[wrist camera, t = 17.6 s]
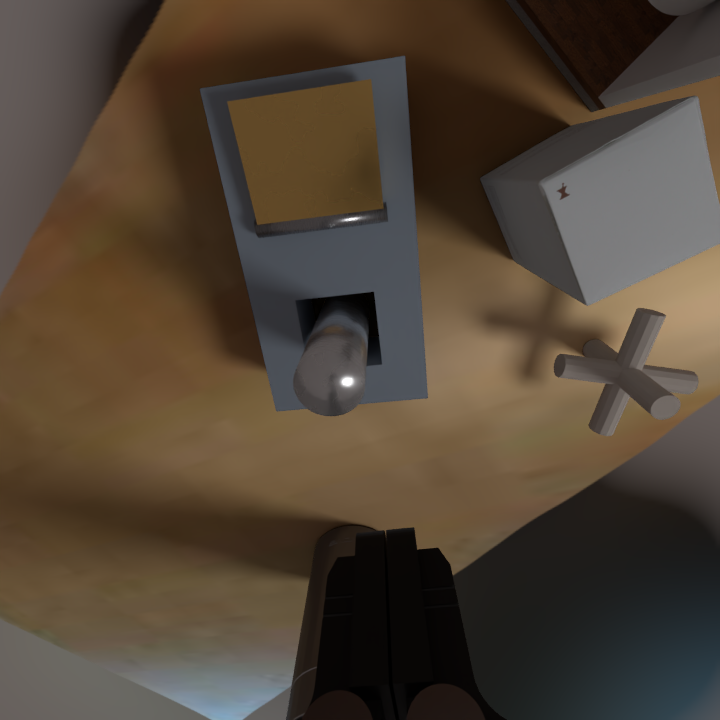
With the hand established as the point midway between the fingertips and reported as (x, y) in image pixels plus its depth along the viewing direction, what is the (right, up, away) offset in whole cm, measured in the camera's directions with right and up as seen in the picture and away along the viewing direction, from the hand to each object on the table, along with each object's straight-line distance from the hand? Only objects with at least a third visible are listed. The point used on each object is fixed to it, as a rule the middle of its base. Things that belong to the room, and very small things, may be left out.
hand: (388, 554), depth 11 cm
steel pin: (-2, +9, +25) cm, 27 cm away
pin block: (-3, +14, +23) cm, 27 cm away
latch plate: (-4, +17, +15) cm, 23 cm away
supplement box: (+13, +17, +21) cm, 30 cm away
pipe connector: (+20, +6, +26) cm, 33 cm away
